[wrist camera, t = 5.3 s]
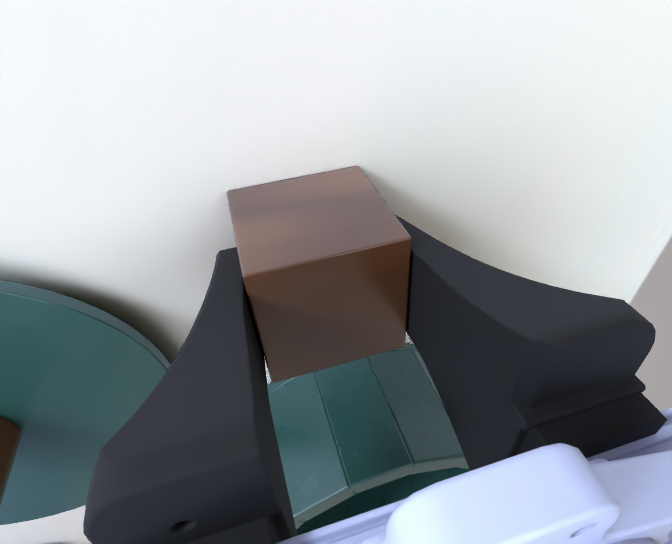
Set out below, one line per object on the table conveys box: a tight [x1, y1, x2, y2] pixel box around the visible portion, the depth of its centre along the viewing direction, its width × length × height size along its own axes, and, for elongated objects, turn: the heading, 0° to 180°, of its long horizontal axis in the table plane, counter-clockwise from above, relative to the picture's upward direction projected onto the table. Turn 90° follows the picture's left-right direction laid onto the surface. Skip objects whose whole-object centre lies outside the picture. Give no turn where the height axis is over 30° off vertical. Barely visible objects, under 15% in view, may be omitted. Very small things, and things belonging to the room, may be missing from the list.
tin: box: [267, 344, 470, 536], centre depth 20 cm, size 12×12×6 cm
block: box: [227, 166, 411, 383], centre depth 12 cm, size 4×4×4 cm
